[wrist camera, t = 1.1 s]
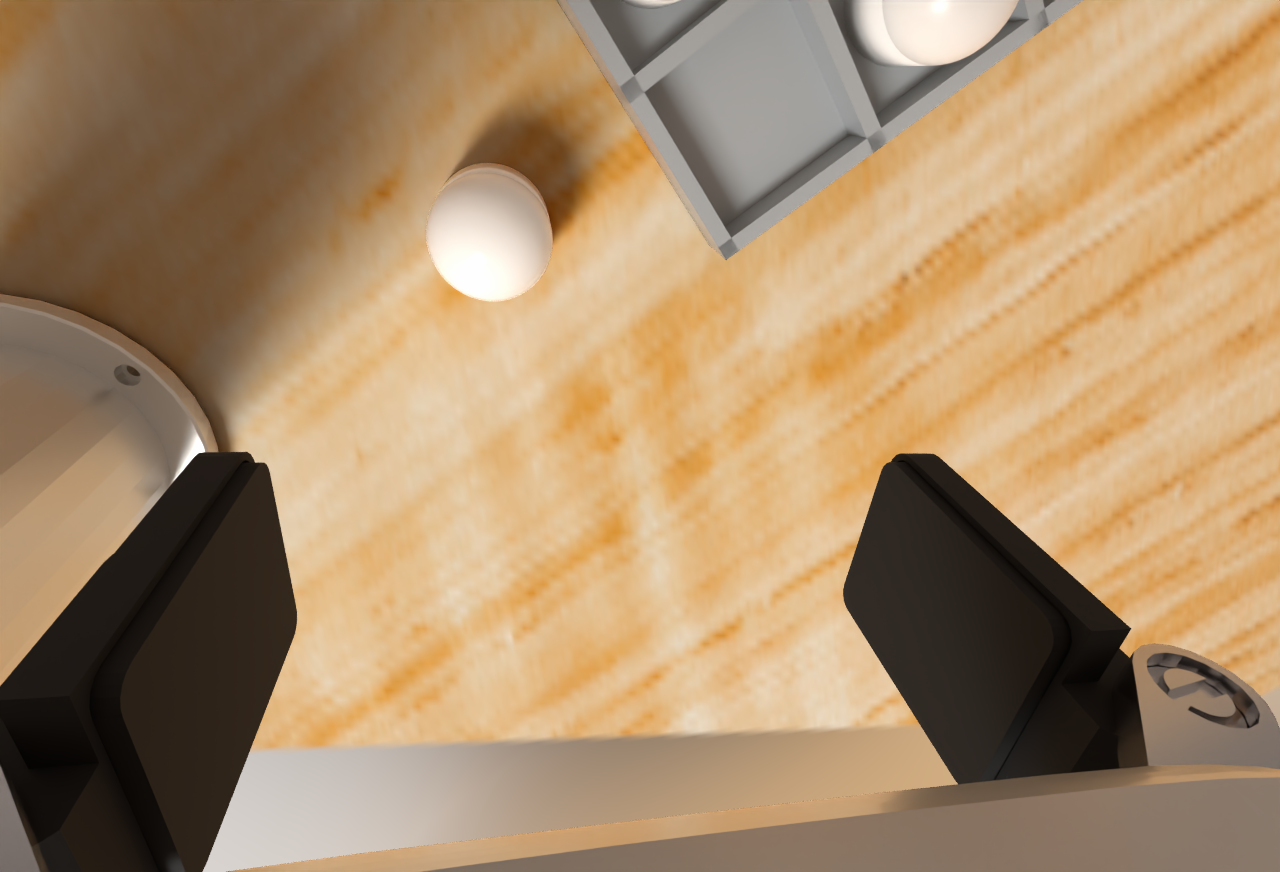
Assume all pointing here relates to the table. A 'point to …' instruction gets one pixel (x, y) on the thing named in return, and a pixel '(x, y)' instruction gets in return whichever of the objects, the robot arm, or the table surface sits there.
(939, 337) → the table surface
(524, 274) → the egg
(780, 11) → the carton
